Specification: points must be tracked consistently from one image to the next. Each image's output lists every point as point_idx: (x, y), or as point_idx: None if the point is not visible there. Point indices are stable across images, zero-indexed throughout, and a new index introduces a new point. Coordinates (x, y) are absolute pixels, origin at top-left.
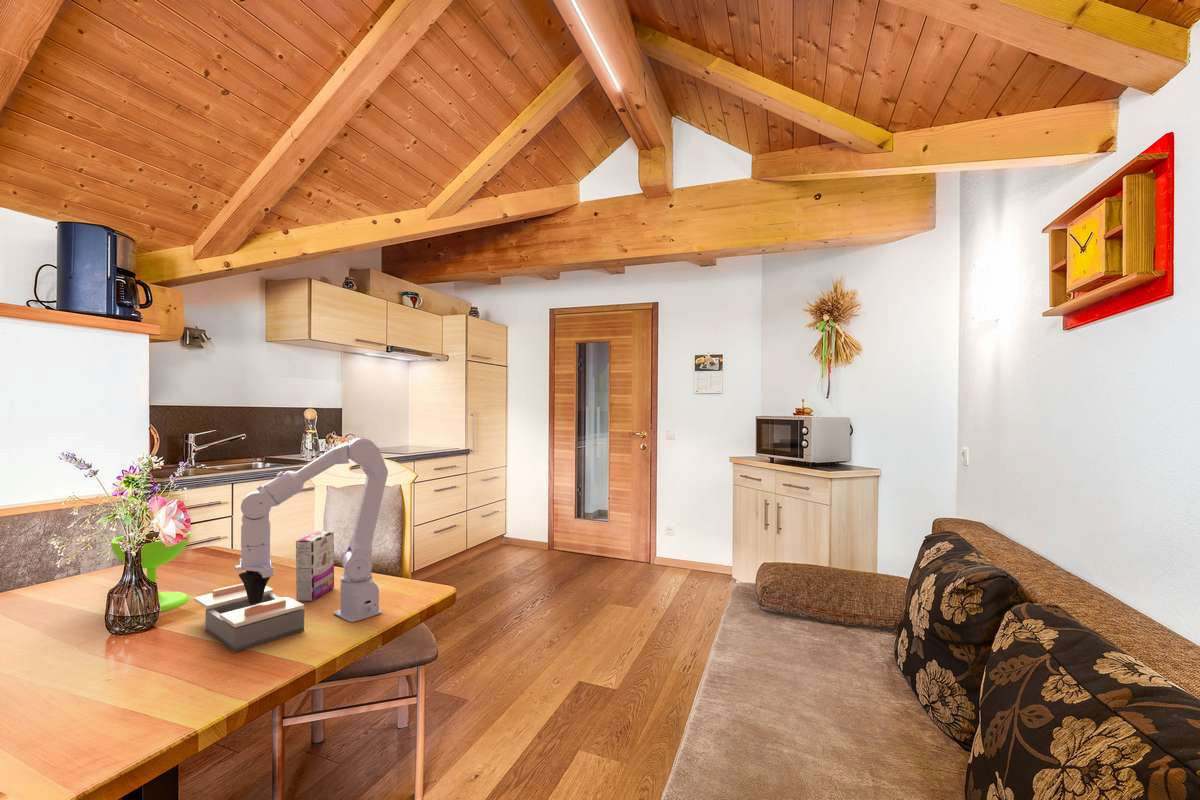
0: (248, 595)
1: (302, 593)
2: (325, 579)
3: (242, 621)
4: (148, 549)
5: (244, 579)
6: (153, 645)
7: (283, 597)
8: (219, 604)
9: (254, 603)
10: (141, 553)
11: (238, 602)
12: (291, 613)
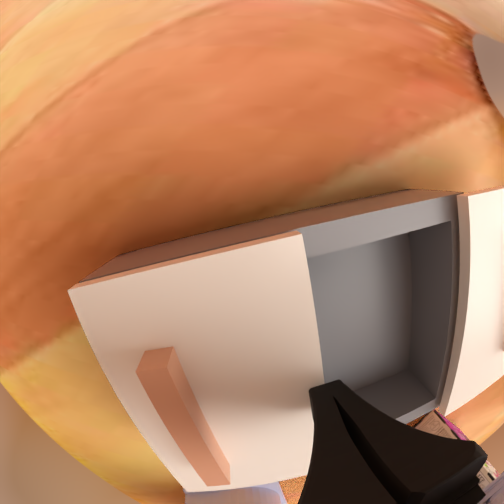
0: (342, 409)
1: (430, 432)
2: None
3: (84, 324)
4: None
5: (362, 498)
6: (376, 52)
7: None
8: (464, 247)
9: (310, 399)
10: None
11: (453, 313)
12: None
